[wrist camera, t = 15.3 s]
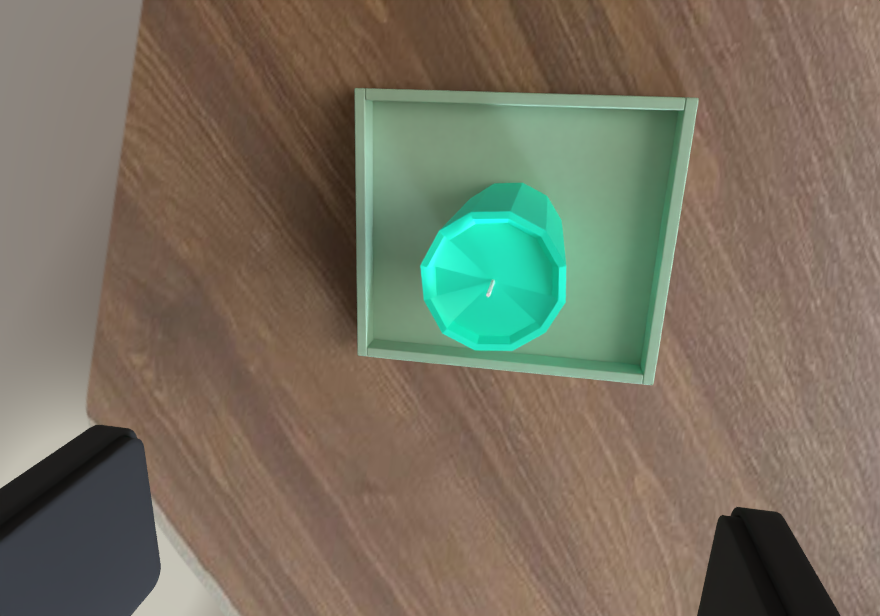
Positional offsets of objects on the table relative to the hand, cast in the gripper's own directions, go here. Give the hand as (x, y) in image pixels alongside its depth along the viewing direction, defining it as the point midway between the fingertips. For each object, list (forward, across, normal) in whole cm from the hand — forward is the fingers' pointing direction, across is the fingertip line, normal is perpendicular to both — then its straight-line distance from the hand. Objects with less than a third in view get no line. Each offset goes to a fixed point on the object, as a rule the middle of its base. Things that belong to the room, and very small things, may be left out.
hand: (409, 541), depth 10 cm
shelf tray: (+26, 0, 0) cm, 26 cm away
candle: (+26, 0, 0) cm, 26 cm away
